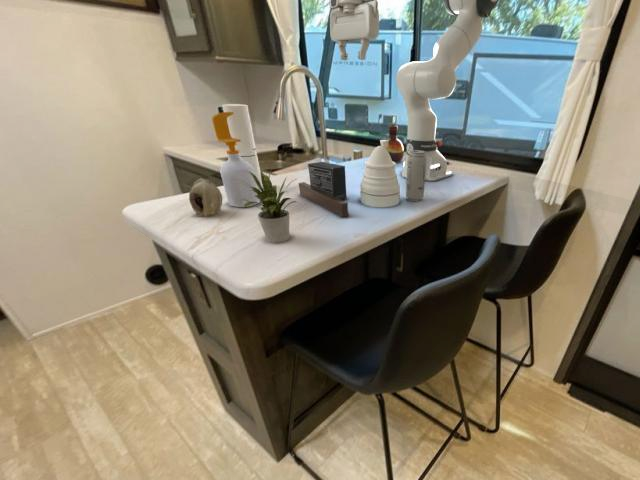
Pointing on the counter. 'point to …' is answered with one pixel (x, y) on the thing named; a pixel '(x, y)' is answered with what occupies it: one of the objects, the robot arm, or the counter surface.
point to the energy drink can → (416, 175)
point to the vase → (394, 145)
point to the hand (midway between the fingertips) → (352, 59)
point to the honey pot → (380, 179)
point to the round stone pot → (205, 198)
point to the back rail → (324, 199)
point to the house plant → (271, 209)
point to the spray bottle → (234, 167)
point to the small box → (328, 178)
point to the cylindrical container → (243, 135)
